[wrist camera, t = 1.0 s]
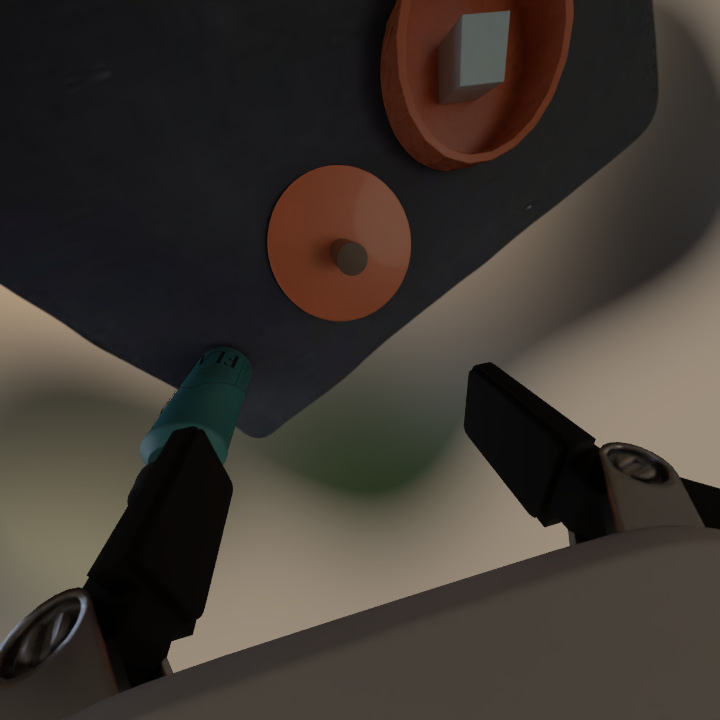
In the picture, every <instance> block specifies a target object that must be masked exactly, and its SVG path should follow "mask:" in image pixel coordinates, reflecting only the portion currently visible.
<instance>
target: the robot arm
mask: <svg viewBox="0 0 720 720" xmlns="http://www.w3.org/2000/svg"><path fill="white" fill-rule="evenodd" d="M464 419H465V420H464V429H465V432H466V434H467V435H468V437H469V438H470V439H471V441H472V442H473V443H474V444H475V446H476V447H477V448H478V449H479V451H480V452H481V453H482V455H483V456H484V457H485V458H486V460H487V461H488V462H489V463H490V465H491V466H492V467H493V469H494V470H495V471H496V472H497V474H498V475H499V476H500V478H501V479H502V480H503V481H504V483H505V484H506V485H507V487H508V488H509V489H510V490H511V492H512V493H513V494H514V495H515V497H516V498H517V499H518V501H519V502H520V503H521V504H522V506H523V507H524V508H525V509H526V511H527V512H528V513H529V514H530V515H531V516H532V517H534V518H535V517H537V519H538V520H539V521H540V522H541V524H542V525H543V526H544V527H547V526H551V525H554V524H557V523H560V522H562V523H563V524H564V525H565V526H566V528H567V529H568V532H569V543H570V546H569V547H566V548H562V549H558V550H555V551H552V552H548V553H546V554H542V555H539V556H536V557H532V558H530V559H526V560H523V561H520V562H516V563H513V564H510V565H507V566H504V567H501V568H497V569H494V570H491V571H488V572H484V573H481V574H478V575H475V576H472V577H469V578H465V579H462V580H459V581H456V582H453V583H450V584H447V585H443V586H440V587H437V588H434V589H431V590H428V591H424V592H421V593H418V594H415V595H412V596H408V597H405V598H403V599H399V600H396V601H393V602H390V603H387V604H383V605H380V606H377V607H374V608H371V609H368V610H365V611H362V612H358V613H356V614H352V615H349V616H346V617H343V618H340V619H337V620H333V621H330V622H327V623H324V624H321V625H318V626H315V627H312V628H309V629H306V630H302V631H299V632H296V633H293V634H290V635H287V636H284V637H281V638H278V639H275V640H272V641H269V642H265V643H262V644H259V645H256V646H253V647H250V648H247V649H244V650H241V651H238V652H235V653H232V654H228V655H225V656H222V657H219V658H217V659H214V660H211V661H208V662H205V663H202V664H199V665H196V666H193V667H191V668H188V669H185V670H182V671H179V672H176V673H173V671H172V669H171V666H170V664H169V662H168V659H167V654H168V651H169V648H170V644H171V641H174V640H177V639H180V638H184V637H187V636H190V635H193V631H194V627H195V623H196V620H197V619H198V618H200V617H201V616H202V614H203V612H204V609H205V605H206V600H207V596H208V592H209V588H210V584H211V580H212V576H213V571H214V568H215V563H216V559H217V555H218V551H219V547H220V543H221V539H222V535H223V530H224V525H225V522H226V518H227V514H228V510H229V505H230V501H231V497H232V493H233V486H232V482H231V480H230V478H229V476H228V474H227V472H226V470H225V469H224V467H223V465H222V463H221V461H220V459H219V457H218V455H217V453H216V452H215V450H214V448H213V446H212V444H211V442H210V440H209V438H208V437H207V435H206V433H205V431H204V430H203V429H198V428H197V427H196V426H190V427H186V428H181V429H177V430H174V431H173V432H172V433H171V435H170V437H169V438H168V440H167V442H166V443H165V445H164V447H163V448H162V450H161V452H160V453H159V455H158V457H157V458H156V460H155V462H154V463H153V465H152V467H151V468H150V470H149V472H148V473H147V475H146V477H145V478H144V480H143V482H142V483H141V485H140V487H139V489H138V490H137V492H136V494H135V495H134V497H133V499H132V500H131V502H130V504H129V505H128V507H127V509H126V510H125V512H124V514H123V516H122V517H121V519H120V520H119V522H118V524H117V525H116V527H115V529H114V530H113V532H112V534H111V535H110V537H109V539H108V541H107V542H106V544H105V546H104V547H103V549H102V551H101V552H100V554H99V556H98V557H97V559H96V561H95V562H94V564H93V566H92V568H91V569H90V571H89V572H88V574H87V576H88V577H89V578H88V580H87V582H86V584H85V585H84V587H83V588H79V587H78V588H73V589H68V590H66V591H63V592H61V593H59V594H57V595H55V596H53V597H52V598H50V599H48V600H47V601H45V602H44V603H42V604H41V605H39V606H38V607H37V608H36V609H35V610H33V612H31V613H30V614H29V615H27V616H26V617H25V618H24V619H23V620H22V621H21V622H20V623H19V624H18V625H17V626H16V627H15V628H14V629H13V630H12V631H11V632H10V634H9V635H8V636H7V638H6V639H5V640H4V641H3V643H2V644H1V645H0V720H720V489H719V488H716V487H712V486H709V485H705V484H702V483H698V482H695V481H691V480H688V479H684V478H681V477H679V475H678V474H677V473H676V471H675V470H674V469H673V467H672V466H671V465H670V464H669V463H667V462H666V461H665V460H664V459H663V458H661V457H659V456H658V455H656V454H654V453H653V452H651V451H648V450H646V449H644V448H642V447H638V446H635V445H632V444H627V443H620V442H615V443H614V442H613V443H607V444H605V445H603V446H602V447H601V448H599V447H597V446H596V445H594V442H595V440H596V439H595V438H594V437H592V436H591V435H590V434H588V433H587V432H585V431H584V430H583V429H581V428H580V427H579V426H577V425H576V424H574V423H573V422H572V421H570V420H569V419H568V418H566V417H565V416H564V415H562V414H561V413H560V412H558V411H557V410H556V409H554V408H553V407H551V406H550V405H549V404H547V403H546V402H545V401H543V400H542V399H540V398H539V397H538V396H537V395H535V394H534V393H532V392H531V391H530V390H528V389H527V388H526V387H524V386H523V385H522V384H520V383H519V382H518V381H516V380H515V379H513V378H512V377H510V376H509V375H508V374H507V373H505V372H504V371H503V370H501V369H500V368H499V367H497V366H496V365H494V364H493V363H491V362H488V363H483V364H479V365H475V366H474V367H473V369H472V370H471V371H470V372H469V376H468V387H467V397H466V409H465V418H464Z"/></svg>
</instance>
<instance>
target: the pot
mask: <svg viewBox="0 0 720 720" xmlns="http://www.w3.org/2000/svg"><path fill="white" fill-rule="evenodd" d="M499 11H510V19H509V31H508V42H507V54H506V65H505V77H504V82H502V83H501V84H499V85H498V86H496V87H495V88H494V89H492V90H491V91H489V92H488V93H486V94H485V95H483V96H482V97H480V98H479V99H477V100H473V101H465V102H457V103H448V104H440V105H439V104H438V45H439V43H440V42H441V41H442V40H443V38H444V37H445V36H446V34H447V33H448V32H449V31H450V29H451V28H452V27H453V26H454V24H455V23H456V22H457V21H458V19H459V18H460V17H461V16H462V15H464V14H476V13H488V12H499ZM573 17H574V12H573V0H396V2H395V5H394V7H393V10H392V13H391V15H390V18H389V20H388V23H387V25H386V31H385V36H384V40H383V47H382V53H381V69H380V70H381V89H382V97H383V102H384V106H385V111H386V114H387V117H388V120H389V123H390V125H391V128H392V130H393V132H394V134H395V136H396V137H397V139H398V141H399V142H400V144H401V145H402V146H403V148H404V149H405V150H406V152H407V153H409V154H410V155H411V156H412V157H413V158H414V159H415V160H417V161H418V162H419V163H421V164H423V165H425V166H427V167H429V168H432V169H436V170H442V171H451V170H458V169H464V168H468V167H471V166H474V165H478V164H481V163H484V162H487V161H490V160H493V159H494V158H496V157H498V156H500V155H502V154H503V153H505V152H507V151H509V150H510V149H512V148H514V147H515V146H516V145H517V144H518V143H519V142H520V141H521V140H522V139H523V138H524V137H525V136H526V135H527V134H528V133H529V132H530V131H531V130H532V129H533V128H534V127H535V125H536V124H537V122H538V121H539V119H540V117H541V116H542V114H543V112H544V111H545V109H546V107H547V106H548V104H549V102H550V101H551V99H552V97H553V95H554V93H555V90H556V87H557V85H558V82H559V79H560V76H561V74H562V71H563V68H564V65H565V63H566V59H567V55H568V49H569V43H570V37H571V31H572V24H573Z"/></svg>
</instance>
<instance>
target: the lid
mask: <svg viewBox="0 0 720 720" xmlns="http://www.w3.org/2000/svg"><path fill="white" fill-rule="evenodd" d="M267 246H268V256H269V260H270V265H271V268H272V271H273V273H274V276H275V278H276V280H277V282H278V284H279V285H280V287H281V288H282V290H283V291H284V293H285V294H286V295H287V296H288V297H289V299H290V300H291V301H292V302H294V303H295V304H296V305H297V306H298V307H300V308H301V309H302V310H304V311H305V312H307V313H309V314H311V315H313V316H316V317H319V318H321V319H326V320H331V321H350V320H355V319H359V318H362V317H365V316H367V315H370V314H371V313H373V312H375V311H377V310H378V309H379V308H381V307H382V306H383V305H384V304H386V303H387V302H388V301H389V300H390V299H391V297H392V296H393V295H394V294H395V293H396V291H397V290H398V288H399V287H400V285H401V283H402V281H403V279H404V277H405V274H406V271H407V268H408V264H409V260H410V253H411V236H410V229H409V224H408V220H407V217H406V215H405V212H404V210H403V208H402V206H401V204H400V202H399V200H398V199H397V197H396V196H395V194H394V193H393V192H392V191H391V190H390V188H389V187H388V186H387V185H386V184H385V183H383V182H382V181H381V180H380V179H379V178H377V177H376V176H374V175H372V174H371V173H369V172H367V171H364V170H362V169H359V168H356V167H352V166H345V165H329V166H324V167H320V168H317V169H314V170H312V171H309V172H307V173H306V174H304V175H302V176H301V177H299V178H298V179H297V180H295V181H294V182H293V183H292V184H291V185H290V186H289V187H288V188H287V189H286V190H285V192H284V193H283V194H282V196H281V197H280V199H279V200H278V202H277V204H276V206H275V208H274V210H273V213H272V216H271V219H270V223H269V229H268V239H267Z"/></svg>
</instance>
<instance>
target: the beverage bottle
mask: <svg viewBox="0 0 720 720" xmlns="http://www.w3.org/2000/svg"><path fill="white" fill-rule="evenodd" d="M206 352H207V351H206ZM200 357H201V356H200ZM197 361H198V360H197ZM196 363H197V362H196ZM194 365H195V364H194ZM194 365H193V367H194ZM193 367H192V368H193ZM192 368H191V370H192ZM191 370H190V374H189V375H188V376H187V378H186V377H185V378H186V380H185V381H184V382H183V384H182V382H181V384H182V385H181V386H180V387H179V388H178V391H177V392H176V394H174V396H173V398H172V399H171V401H170V402H169V404H168V405H167V406H166V408H165V409H164V411H161V415H160V416H159V418H158V420H157V421H156V423H155V424H154V426H153V427H152V429H151V430H150V431H149V432H148V433H147V434H146V435H145V437H144V438H143V440H142V442H141V445H140V455H141V458H142V461H143V462H144V464H145V465H146V466H145V467H144V468H143V469H142V470H141V472H140V473H139V475H138V476H137V479H136V481H135V484H134V486H133V488H132V490H131V491H130V494H129V496H128V505H129V504H130V502H131V500H132V499H133V497H134V495H135V494H136V492H137V490H138V489H139V487H140V485H141V483H142V482H143V480H144V478H145V477H146V475H147V473H148V472H149V470H150V468H151V467H152V465H153V463H154V462H155V460H156V458H157V457H158V455H159V453H160V452H161V450H162V448H163V447H164V445H165V443H166V442H167V440H168V438H169V437H170V435H171V433H172V432H173V431H174V430H177V429H181V428H186V427H190V426H196V427H197V428H198V429H203V430H204V431H205V433H206V435H207V437H208V438H209V440H210V442H211V444H212V446H213V448H214V450H215V452H216V453H217V455H218V457H219V459H220V461H221V463H222V465H223V464H224V463H225V461H226V458H227V455H228V449H229V446H230V442H231V439H232V436H233V432H234V429H235V426H236V423H237V419H238V416H239V413H240V409H241V406H242V404H244V403H243V401H244V398H245V395H246V394H247V393H246V392H247V391H248V390H247V389H248V385H249V382H250V379H251V376H252V371H253V369H252V368H251V365H250V362H249V360H248V359H247V358H246V357H245V356H244V355H243V354H242V353H241V352H239V351H237V350H235V349H232V348H227V347H220V348H214V349H212V350H210V351H209V350H208V352H207V353H205V354H204V355H203V356H202V357H201V358H200V360H199V361H198V363H197V364H196V365H195V367H194V368H193V370H192V371H191ZM183 380H184V379H183ZM169 400H170V399H169ZM167 403H168V402H167ZM162 410H163V409H162Z"/></svg>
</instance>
